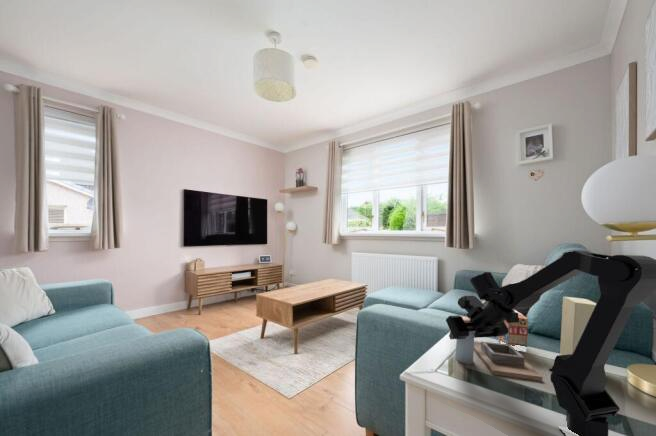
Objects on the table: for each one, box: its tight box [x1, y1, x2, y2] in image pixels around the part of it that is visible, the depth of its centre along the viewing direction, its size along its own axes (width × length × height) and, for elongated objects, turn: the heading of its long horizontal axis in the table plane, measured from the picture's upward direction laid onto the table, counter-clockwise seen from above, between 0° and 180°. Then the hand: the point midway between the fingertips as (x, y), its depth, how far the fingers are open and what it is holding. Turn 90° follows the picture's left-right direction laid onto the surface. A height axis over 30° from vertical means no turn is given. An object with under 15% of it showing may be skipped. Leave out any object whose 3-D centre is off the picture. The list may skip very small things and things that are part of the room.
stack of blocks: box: [494, 309, 529, 348], centre depth 106 cm, size 21×6×12 cm, turn 170°
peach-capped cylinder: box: [455, 315, 475, 365], centre depth 87 cm, size 5×5×13 cm
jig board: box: [474, 340, 543, 382], centre depth 88 cm, size 20×13×4 cm, turn 170°
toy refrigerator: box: [559, 296, 597, 355], centre depth 86 cm, size 8×7×21 cm
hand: (462, 336), depth 88 cm, fingers open, 9 cm apart
